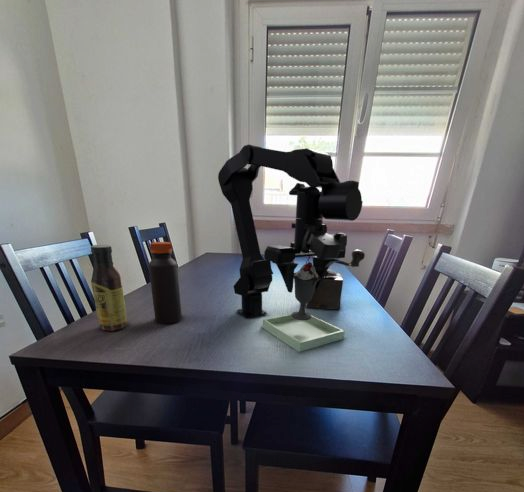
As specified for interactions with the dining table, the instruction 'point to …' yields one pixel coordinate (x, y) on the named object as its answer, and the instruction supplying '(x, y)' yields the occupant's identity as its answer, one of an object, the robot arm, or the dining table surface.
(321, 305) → the manual coffee grinder
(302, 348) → the serving tray
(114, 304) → the sauce bottle
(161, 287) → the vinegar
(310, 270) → the sundae
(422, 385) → the dining table surface
